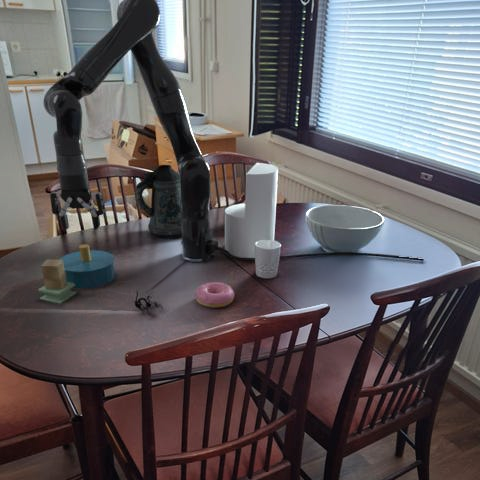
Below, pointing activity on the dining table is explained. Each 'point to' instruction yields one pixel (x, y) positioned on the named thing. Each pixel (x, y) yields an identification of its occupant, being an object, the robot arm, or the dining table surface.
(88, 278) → the tin
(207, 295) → the doughnut
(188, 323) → the dining table surface
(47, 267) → the block
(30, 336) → the dining table surface
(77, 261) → the tin lid
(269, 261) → the white cup
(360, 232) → the decorative bowl
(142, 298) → the creature
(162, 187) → the beer stein
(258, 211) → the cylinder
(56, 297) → the stand
